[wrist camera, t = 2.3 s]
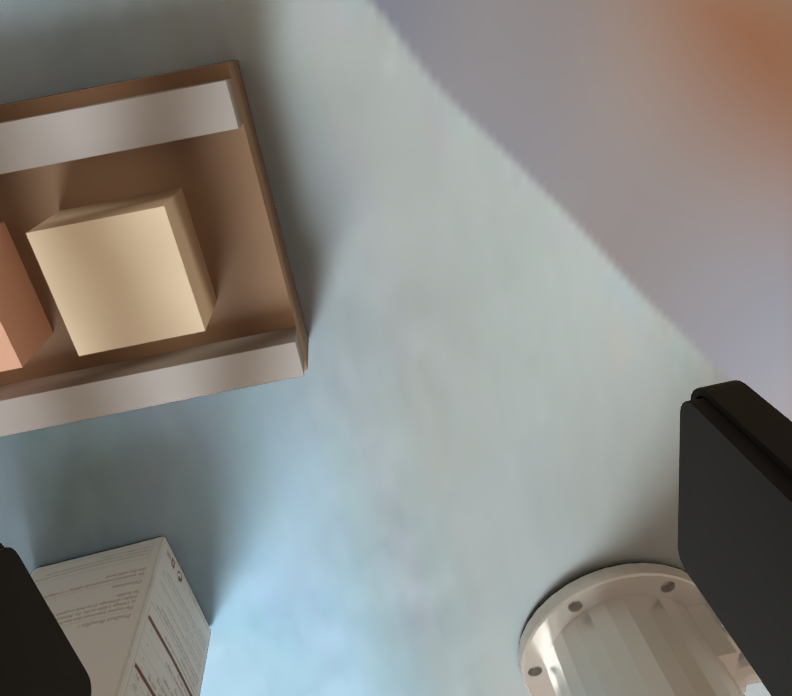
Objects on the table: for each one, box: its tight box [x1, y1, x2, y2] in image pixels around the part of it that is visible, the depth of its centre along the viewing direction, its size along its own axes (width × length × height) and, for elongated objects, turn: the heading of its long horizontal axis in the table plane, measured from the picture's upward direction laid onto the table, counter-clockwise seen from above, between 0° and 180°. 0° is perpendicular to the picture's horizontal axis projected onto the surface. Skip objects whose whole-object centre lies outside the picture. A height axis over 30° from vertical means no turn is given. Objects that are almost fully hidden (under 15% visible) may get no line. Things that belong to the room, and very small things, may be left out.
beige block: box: [26, 187, 217, 356], centre depth 23 cm, size 4×4×3 cm
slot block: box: [0, 60, 309, 437], centre depth 25 cm, size 16×12×4 cm
